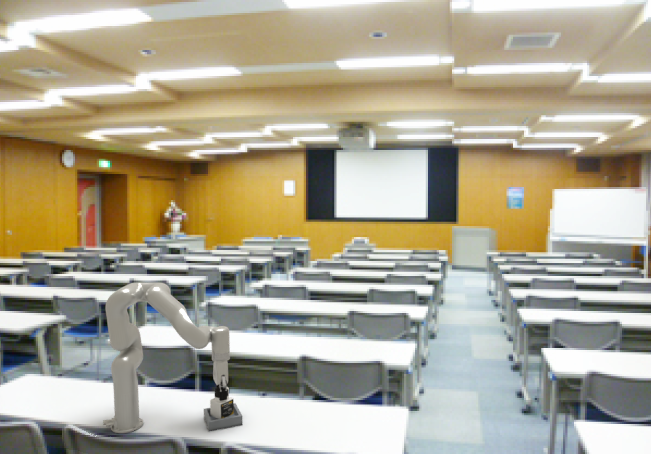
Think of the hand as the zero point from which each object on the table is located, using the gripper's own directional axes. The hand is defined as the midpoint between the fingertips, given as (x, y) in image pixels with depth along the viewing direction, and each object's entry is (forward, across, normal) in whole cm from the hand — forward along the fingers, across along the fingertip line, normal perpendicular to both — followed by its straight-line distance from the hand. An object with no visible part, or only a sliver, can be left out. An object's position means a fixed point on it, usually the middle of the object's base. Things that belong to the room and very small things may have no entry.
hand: (221, 396), depth 205 cm
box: (+11, 0, 0) cm, 11 cm away
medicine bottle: (+8, 0, 0) cm, 8 cm away
